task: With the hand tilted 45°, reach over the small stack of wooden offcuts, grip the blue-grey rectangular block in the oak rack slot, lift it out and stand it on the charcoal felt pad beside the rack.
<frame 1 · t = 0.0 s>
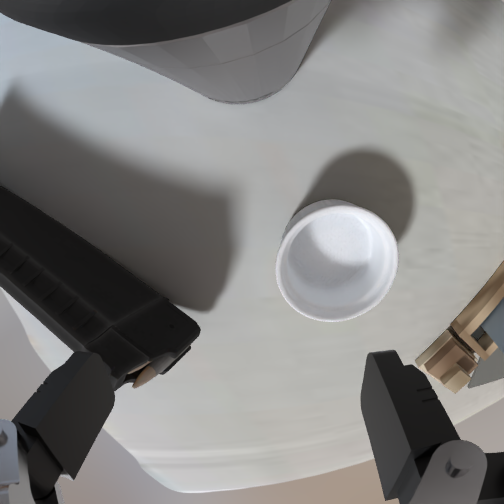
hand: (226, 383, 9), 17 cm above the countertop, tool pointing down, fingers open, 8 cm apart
rack: (499, 299, 26), on the countertop
magazine: (64, 239, 27), on the countertop
pad: (495, 361, 29), on the countertop
blue-grey rectangular block: (499, 299, 26), resting in rack
ramekin: (329, 245, 25), on the countertop
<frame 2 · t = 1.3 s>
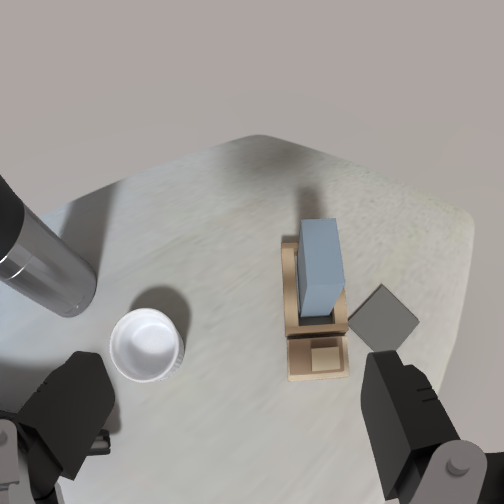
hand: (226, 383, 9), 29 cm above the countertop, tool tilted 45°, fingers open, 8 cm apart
rack: (312, 290, 39), on the countertop
magazine: (36, 427, 33), on the countertop
pad: (383, 323, 37), on the countertop
blue-grey rectangular block: (312, 290, 40), resting in rack
ramekin: (156, 351, 38), on the countertop
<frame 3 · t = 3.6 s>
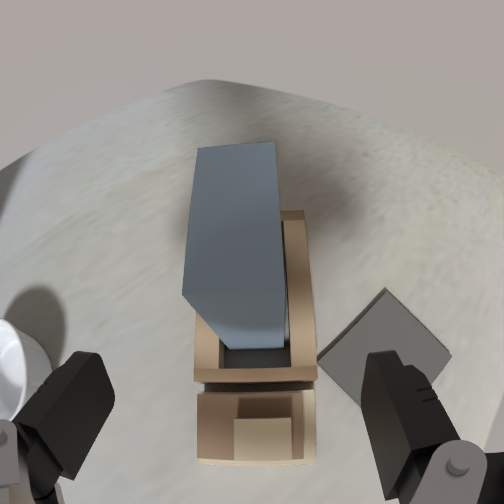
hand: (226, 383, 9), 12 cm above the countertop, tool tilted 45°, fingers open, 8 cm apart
rack: (256, 299, 22), on the countertop
pad: (388, 361, 19), on the countertop
blue-grey rectangular block: (256, 299, 22), resting in rack
ramekin: (25, 381, 20), on the countertop
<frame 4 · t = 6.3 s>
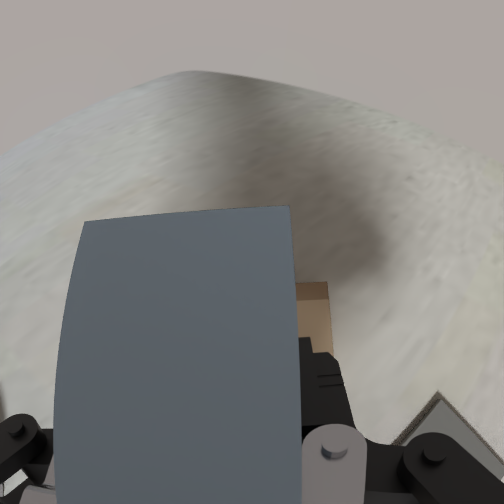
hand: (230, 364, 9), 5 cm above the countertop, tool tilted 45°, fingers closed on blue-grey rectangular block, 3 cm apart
rack: (248, 419, 13), on the countertop
pad: (430, 491, 10), on the countertop
blue-grey rectangular block: (248, 419, 13), resting in rack, touching gripper
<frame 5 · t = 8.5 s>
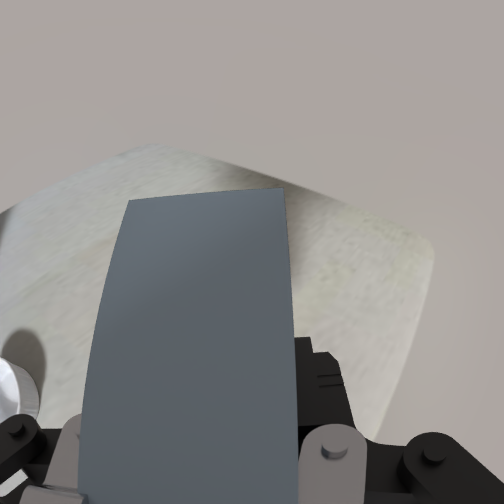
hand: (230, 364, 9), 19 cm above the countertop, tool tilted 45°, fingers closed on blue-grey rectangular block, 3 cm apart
blue-grey rectangular block: (249, 416, 14), point 13 cm above the countertop, tilted 8°, touching gripper
ramekin: (20, 398, 27), on the countertop
when the fingers open (7 cm above the countertop, at t = 11.2 s): blue-grey rectangular block stays where it is, resting on pad.
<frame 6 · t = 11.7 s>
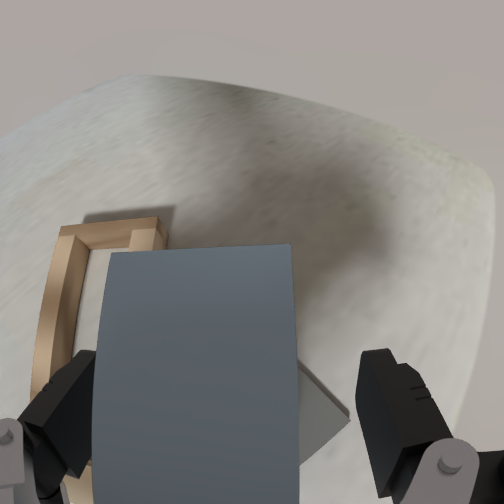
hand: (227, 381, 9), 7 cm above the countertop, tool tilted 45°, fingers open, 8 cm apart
rack: (103, 321, 17), on the countertop
pad: (250, 417, 14), on the countertop
blue-grey rectangular block: (250, 419, 14), resting on pad
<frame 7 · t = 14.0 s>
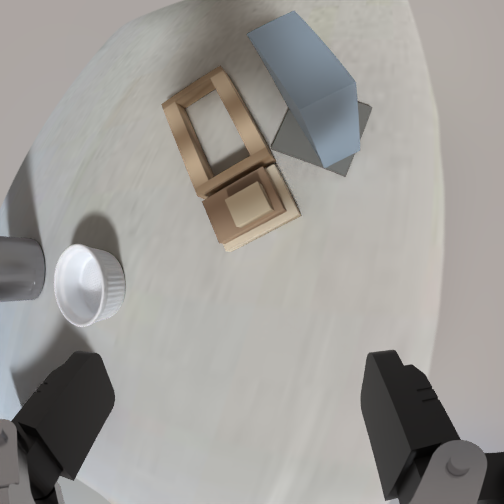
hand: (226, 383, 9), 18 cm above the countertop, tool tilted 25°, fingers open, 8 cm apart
rack: (218, 132, 30), on the countertop
pad: (322, 128, 26), on the countertop
blue-grey rectangular block: (322, 126, 26), resting on pad
ramekin: (104, 284, 34), on the countertop
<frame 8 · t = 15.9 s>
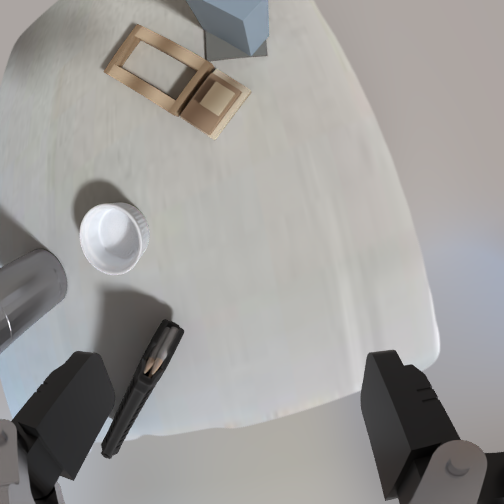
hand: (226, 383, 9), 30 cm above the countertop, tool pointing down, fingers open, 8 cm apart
rack: (159, 69, 33), on the countertop
magazine: (144, 379, 47), on the countertop
pad: (235, 33, 31), on the countertop
blue-grey rectangular block: (235, 31, 31), resting on pad
ramekin: (124, 231, 40), on the countertop
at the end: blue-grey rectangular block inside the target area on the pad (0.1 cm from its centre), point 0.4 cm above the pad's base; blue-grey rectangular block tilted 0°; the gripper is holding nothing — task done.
